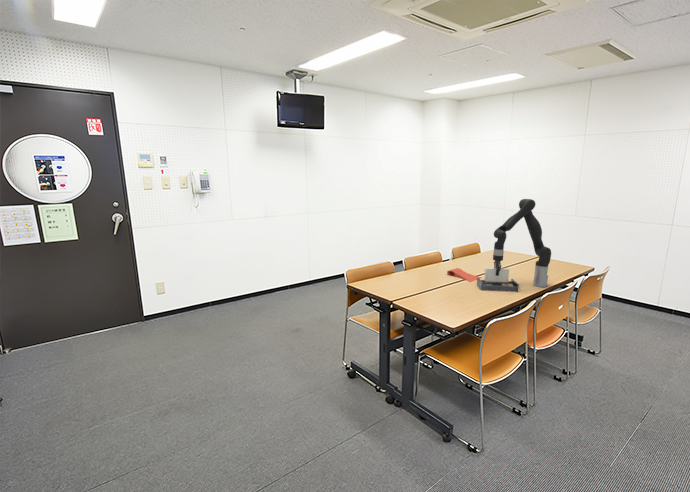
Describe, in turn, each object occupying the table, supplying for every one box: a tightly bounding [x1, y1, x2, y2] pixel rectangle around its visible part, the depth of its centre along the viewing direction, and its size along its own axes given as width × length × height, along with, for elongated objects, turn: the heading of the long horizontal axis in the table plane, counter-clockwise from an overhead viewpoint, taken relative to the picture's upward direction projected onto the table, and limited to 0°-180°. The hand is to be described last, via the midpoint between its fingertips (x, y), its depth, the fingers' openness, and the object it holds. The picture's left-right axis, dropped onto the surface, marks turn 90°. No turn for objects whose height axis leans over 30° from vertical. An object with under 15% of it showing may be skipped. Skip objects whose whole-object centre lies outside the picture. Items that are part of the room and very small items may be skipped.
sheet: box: [446, 267, 483, 283], centre depth 314 cm, size 6×30×24 cm
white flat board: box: [483, 267, 510, 282], centre depth 285 cm, size 18×2×11 cm, turn 82°
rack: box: [476, 278, 520, 293], centre depth 282 cm, size 28×15×6 cm, turn 82°
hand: (496, 274), depth 285 cm, fingers closed on white flat board, 2 cm apart
